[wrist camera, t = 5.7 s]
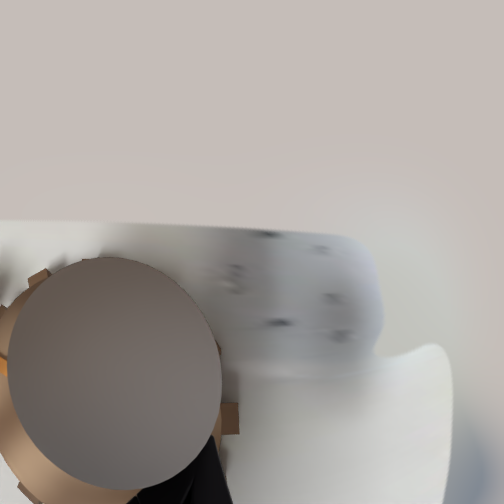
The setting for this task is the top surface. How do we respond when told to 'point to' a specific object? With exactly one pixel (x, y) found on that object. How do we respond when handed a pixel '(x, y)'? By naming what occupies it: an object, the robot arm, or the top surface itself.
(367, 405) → the top surface
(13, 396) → the sprocket
